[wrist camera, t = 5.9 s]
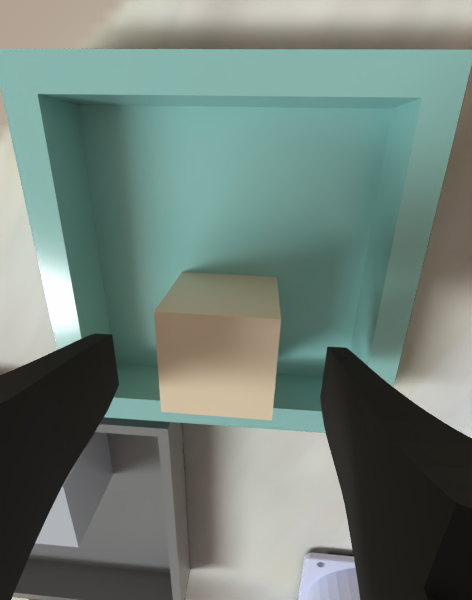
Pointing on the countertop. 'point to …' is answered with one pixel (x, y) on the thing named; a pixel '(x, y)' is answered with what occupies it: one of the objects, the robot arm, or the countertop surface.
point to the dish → (234, 196)
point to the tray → (125, 526)
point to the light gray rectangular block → (79, 495)
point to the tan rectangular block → (218, 345)
